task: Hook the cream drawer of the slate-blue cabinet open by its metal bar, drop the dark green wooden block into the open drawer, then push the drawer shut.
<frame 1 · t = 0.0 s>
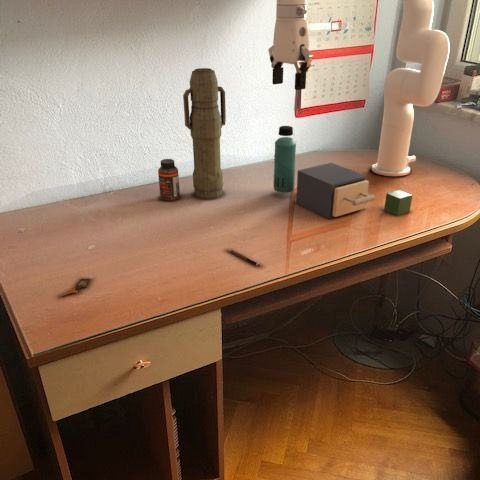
hand: (288, 86, 143), 31 cm above the table, tool pointing down, fingers open, 9 cm apart
block: (396, 211, 151), on the table
drawer: (341, 194, 149), point 5 cm above the table, slide at 0.5 cm
cabinet: (328, 205, 155), on the table
key tag: (75, 288, 117), on the table
pen: (243, 259, 128), on the table
supplement bottle: (170, 198, 162), on the table
beverage bottle: (283, 194, 163), on the table
thermos: (208, 195, 164), on the table
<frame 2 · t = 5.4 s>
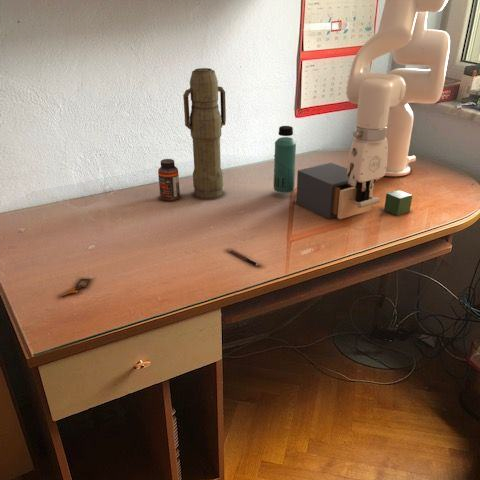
hand: (361, 203, 143), 5 cm above the table, tool pointing down, fingers closed
drawer: (346, 196, 148), point 5 cm above the table, slide at 2.5 cm
everything else where it was.
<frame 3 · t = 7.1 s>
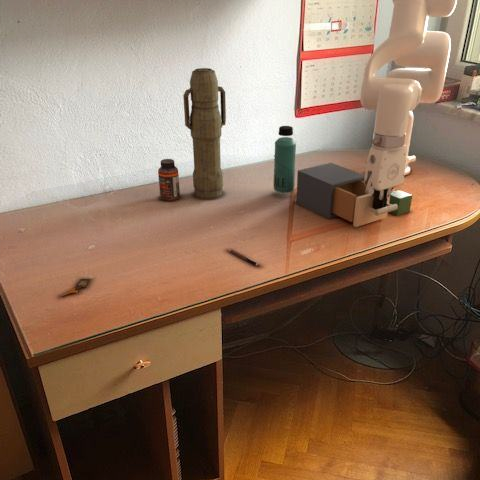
hand: (378, 211, 139), 4 cm above the table, tool pointing down, fingers closed
drawer: (362, 203, 143), point 5 cm above the table, slide at 8.6 cm
everything else where it was.
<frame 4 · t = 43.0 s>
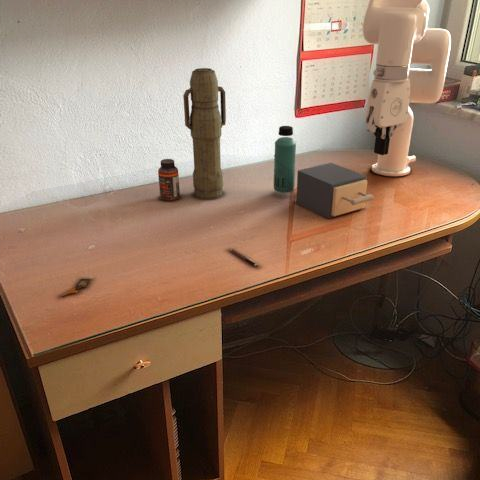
hand: (380, 153, 133), 19 cm above the table, tool pointing down, fingers closed
block: (337, 202, 152), point 2 cm above the table, touching drawer
drawer: (340, 194, 150), point 5 cm above the table, slide at 0.0 cm, touching block
everything else where it was.
at the end: drawer pulled out 8.6 cm at the most during the clip, back to where it started at the end; block inside the target area in the cabinet (3.2 cm from its centre), point 2.0 cm above the cabinet's base; drawer slide at 0.0 cm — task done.
